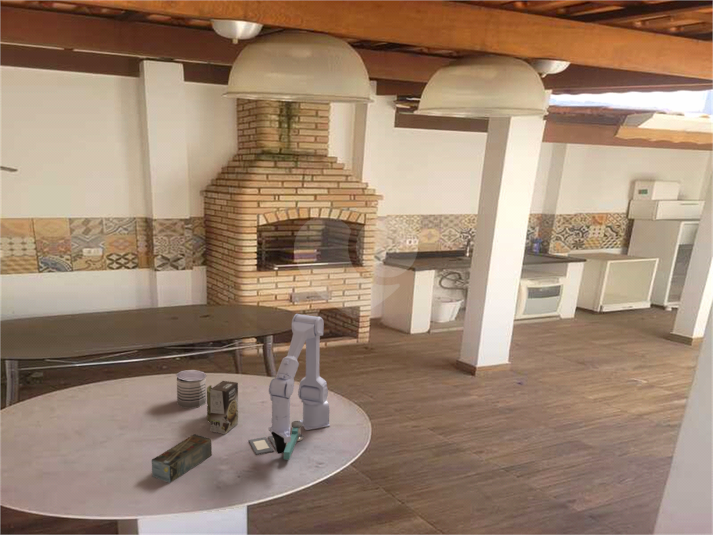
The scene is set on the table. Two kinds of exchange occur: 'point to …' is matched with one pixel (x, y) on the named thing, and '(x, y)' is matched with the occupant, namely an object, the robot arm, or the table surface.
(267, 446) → the label tile
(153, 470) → the beverage carton
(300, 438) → the pivot post
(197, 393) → the can
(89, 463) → the table surface
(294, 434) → the bar
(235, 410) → the coffee box
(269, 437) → the label tile
